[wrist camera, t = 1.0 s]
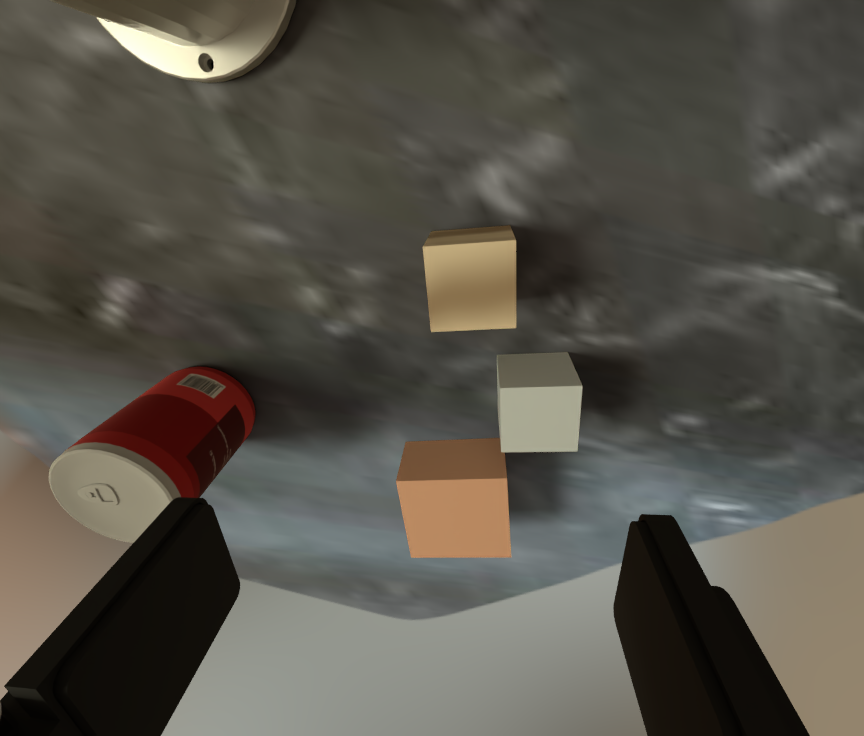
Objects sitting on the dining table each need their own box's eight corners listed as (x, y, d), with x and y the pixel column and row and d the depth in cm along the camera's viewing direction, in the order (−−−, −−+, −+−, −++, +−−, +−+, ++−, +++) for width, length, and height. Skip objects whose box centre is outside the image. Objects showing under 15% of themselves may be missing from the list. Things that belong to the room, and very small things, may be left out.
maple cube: (431, 231, 28) (422, 246, 23) (509, 225, 27) (515, 239, 23) (437, 304, 30) (430, 331, 26) (510, 300, 29) (516, 327, 25)
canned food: (147, 376, 35) (19, 463, 25) (229, 351, 33) (125, 436, 23) (197, 449, 38) (100, 553, 28) (274, 431, 36) (200, 534, 27)
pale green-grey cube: (496, 354, 31) (499, 388, 27) (567, 351, 31) (582, 385, 26) (497, 412, 34) (501, 452, 29) (563, 410, 33) (577, 451, 28)
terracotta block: (406, 440, 36) (395, 481, 31) (503, 436, 35) (507, 478, 30) (418, 511, 39) (411, 557, 35) (507, 509, 38) (511, 557, 34)
